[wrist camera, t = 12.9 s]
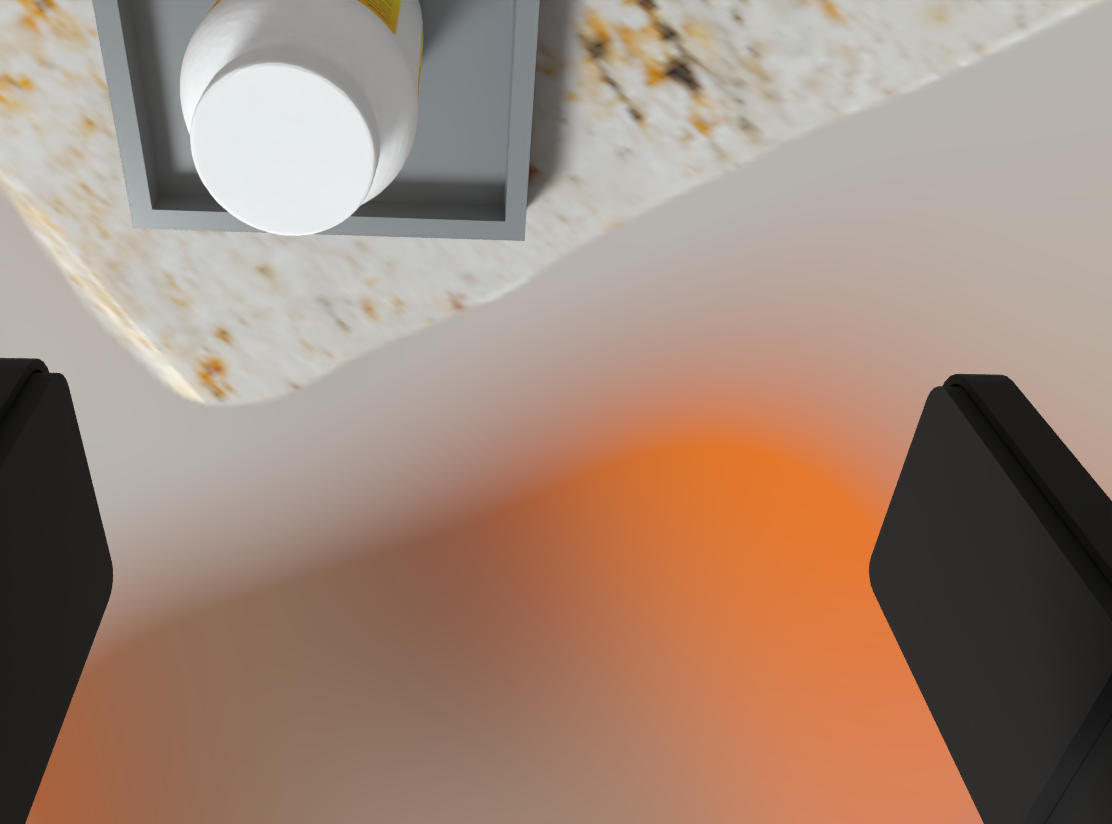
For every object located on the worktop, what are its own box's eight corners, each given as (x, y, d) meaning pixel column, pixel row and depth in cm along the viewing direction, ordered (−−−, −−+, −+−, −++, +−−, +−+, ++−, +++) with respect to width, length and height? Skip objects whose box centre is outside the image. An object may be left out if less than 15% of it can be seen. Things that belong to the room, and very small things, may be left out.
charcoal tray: (546, -203, 33) (552, -196, 31) (520, 214, 42) (524, 240, 40) (74, -242, 32) (49, -238, 30) (149, 201, 40) (133, 228, 38)
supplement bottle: (203, -53, 34) (96, 54, 24) (390, -104, 34) (364, -18, 23) (278, 132, 38) (215, 294, 28) (446, 88, 38) (446, 236, 27)
